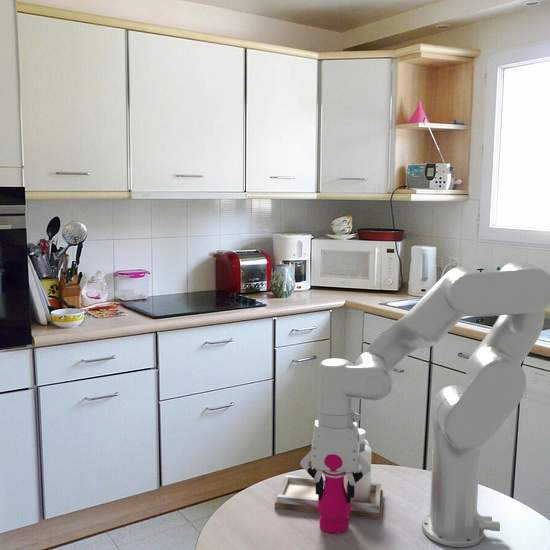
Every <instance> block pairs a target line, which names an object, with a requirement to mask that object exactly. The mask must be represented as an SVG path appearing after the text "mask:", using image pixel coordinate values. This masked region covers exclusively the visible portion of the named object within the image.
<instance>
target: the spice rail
mask: <svg viewBox="0 0 550 550" xmlns="http://www.w3.org/2000/svg"><path fill="white" fill-rule="evenodd" d="M324 486H325V478H323V489H324ZM277 493H278V494H277V495H276V499H275V500H274V509H276V510H283V511H284V510H287V511H296V512H305V513H315V514H319V512H318V509H317V506H318V494H316V482H315V481H314V479H313V478H312V477H309V476H301V475H289V474H288V475H287V474H285V475H284V478H283V481H282V483H281V486H280V488H279V490H278V492H277ZM383 497H384V490H383V489H382V484H381V483H375V482H371V493H370V502H369V503H360V502H350V503H351V512H350V514H349V515H348V517H354V518H361V519H362V518H363V519H371V520H373V519H374V520H382V513H383Z"/></svg>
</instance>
